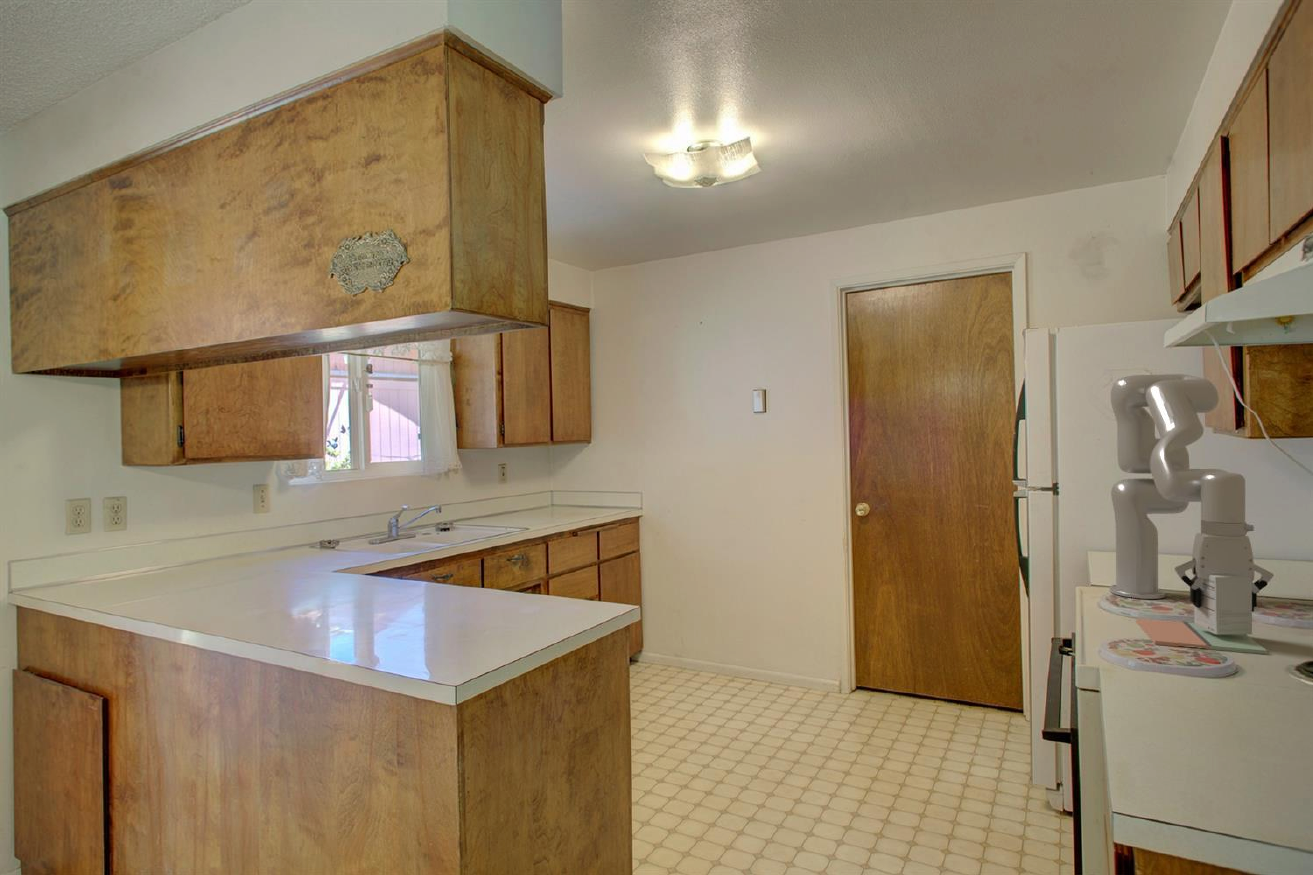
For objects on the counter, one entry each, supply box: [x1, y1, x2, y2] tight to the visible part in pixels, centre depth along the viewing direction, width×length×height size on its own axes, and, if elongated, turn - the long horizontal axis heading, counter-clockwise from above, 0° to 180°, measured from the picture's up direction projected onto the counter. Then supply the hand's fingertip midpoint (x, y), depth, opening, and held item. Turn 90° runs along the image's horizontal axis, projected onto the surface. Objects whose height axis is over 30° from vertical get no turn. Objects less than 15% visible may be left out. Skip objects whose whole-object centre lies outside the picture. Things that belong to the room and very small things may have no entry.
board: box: [1135, 617, 1268, 655], centre depth 154 cm, size 18×19×1 cm
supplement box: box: [1193, 570, 1253, 635], centre depth 152 cm, size 7×7×13 cm
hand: (1222, 607), depth 152 cm, fingers closed on supplement box, 8 cm apart
